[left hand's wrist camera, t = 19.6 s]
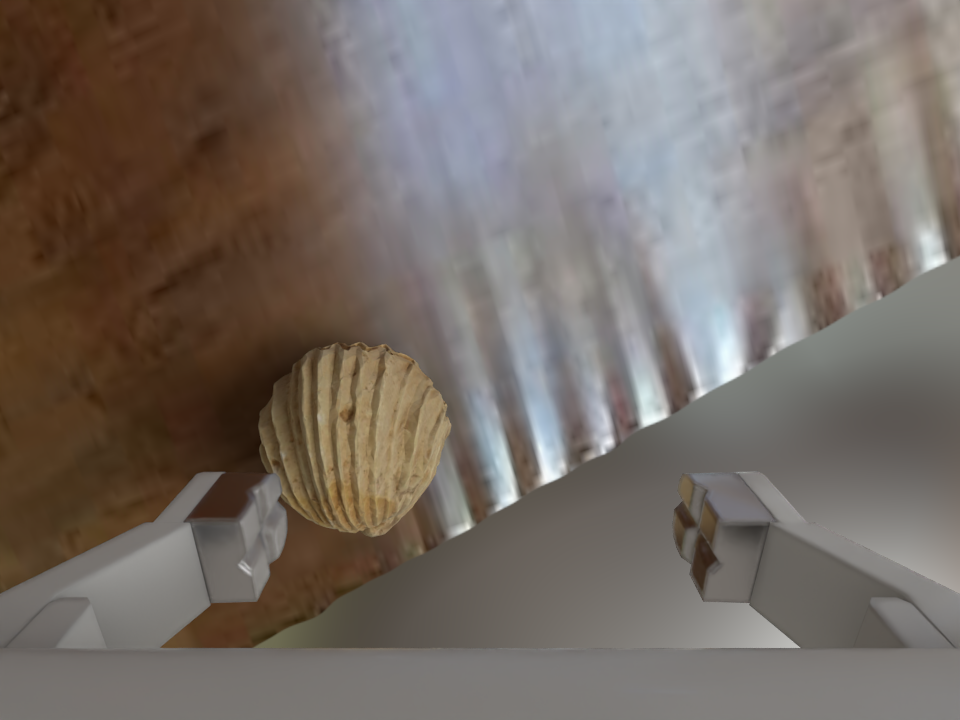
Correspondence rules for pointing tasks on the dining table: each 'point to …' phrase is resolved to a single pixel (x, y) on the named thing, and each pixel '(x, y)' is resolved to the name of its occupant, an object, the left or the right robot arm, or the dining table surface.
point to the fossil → (353, 436)
